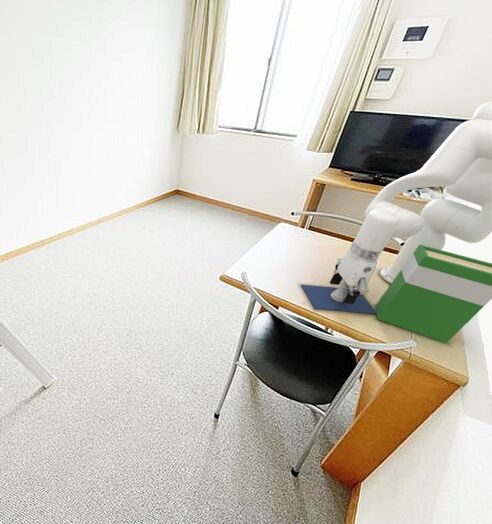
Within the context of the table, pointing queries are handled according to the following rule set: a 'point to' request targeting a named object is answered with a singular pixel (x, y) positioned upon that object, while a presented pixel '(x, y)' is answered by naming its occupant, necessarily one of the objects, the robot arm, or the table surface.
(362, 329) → the table surface
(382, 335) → the table surface
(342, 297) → the rook chess piece
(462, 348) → the table surface
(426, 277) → the hardback book
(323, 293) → the cloth
